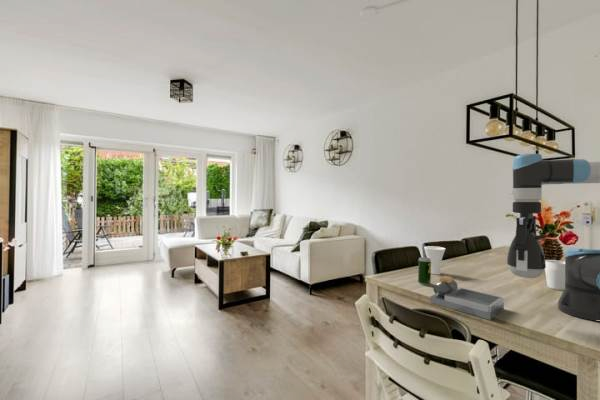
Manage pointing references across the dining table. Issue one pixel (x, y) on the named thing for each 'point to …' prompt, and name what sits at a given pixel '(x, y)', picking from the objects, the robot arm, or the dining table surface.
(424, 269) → the green soda can
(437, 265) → the cup
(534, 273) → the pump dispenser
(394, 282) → the dining table surface
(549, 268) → the cup
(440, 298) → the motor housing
